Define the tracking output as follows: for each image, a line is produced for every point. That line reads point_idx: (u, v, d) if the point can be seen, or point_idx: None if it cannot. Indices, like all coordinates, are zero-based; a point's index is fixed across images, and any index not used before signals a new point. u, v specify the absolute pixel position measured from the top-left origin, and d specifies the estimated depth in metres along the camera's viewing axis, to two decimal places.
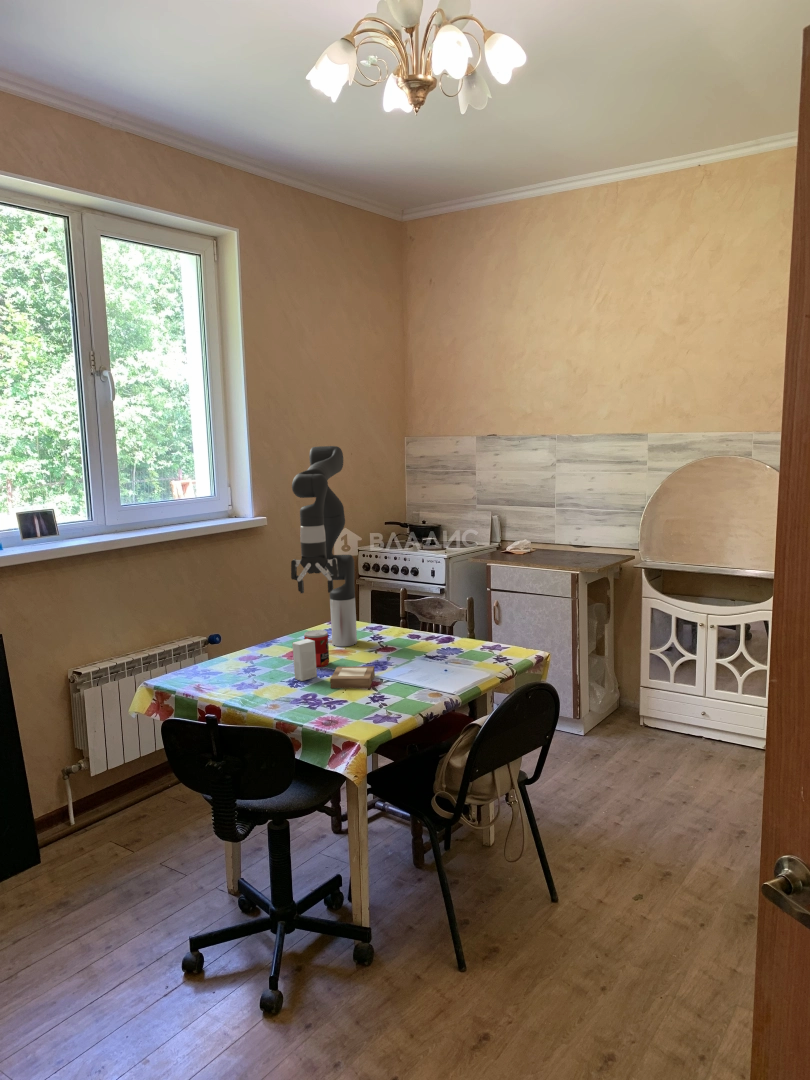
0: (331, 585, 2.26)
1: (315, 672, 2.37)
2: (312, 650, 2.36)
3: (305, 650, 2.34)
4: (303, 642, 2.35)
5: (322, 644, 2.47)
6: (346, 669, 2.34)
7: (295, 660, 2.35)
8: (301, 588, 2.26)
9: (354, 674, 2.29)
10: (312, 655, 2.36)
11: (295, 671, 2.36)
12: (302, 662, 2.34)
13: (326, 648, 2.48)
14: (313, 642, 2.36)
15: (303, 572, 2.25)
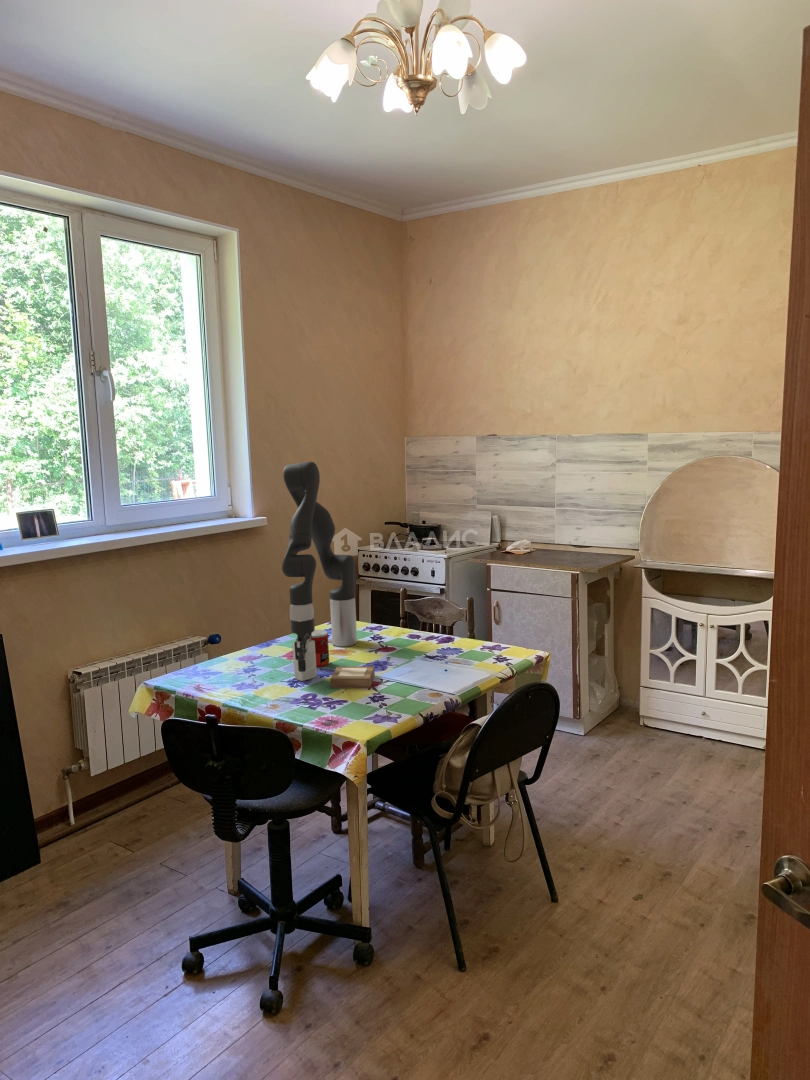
0: None
1: (315, 672, 2.37)
2: (312, 650, 2.36)
3: None
4: None
5: (322, 644, 2.47)
6: (346, 669, 2.34)
7: (295, 660, 2.35)
8: (305, 666, 2.33)
9: (354, 674, 2.29)
10: (312, 655, 2.36)
11: (295, 671, 2.36)
12: None
13: (326, 648, 2.48)
14: (313, 642, 2.36)
15: (307, 649, 2.33)
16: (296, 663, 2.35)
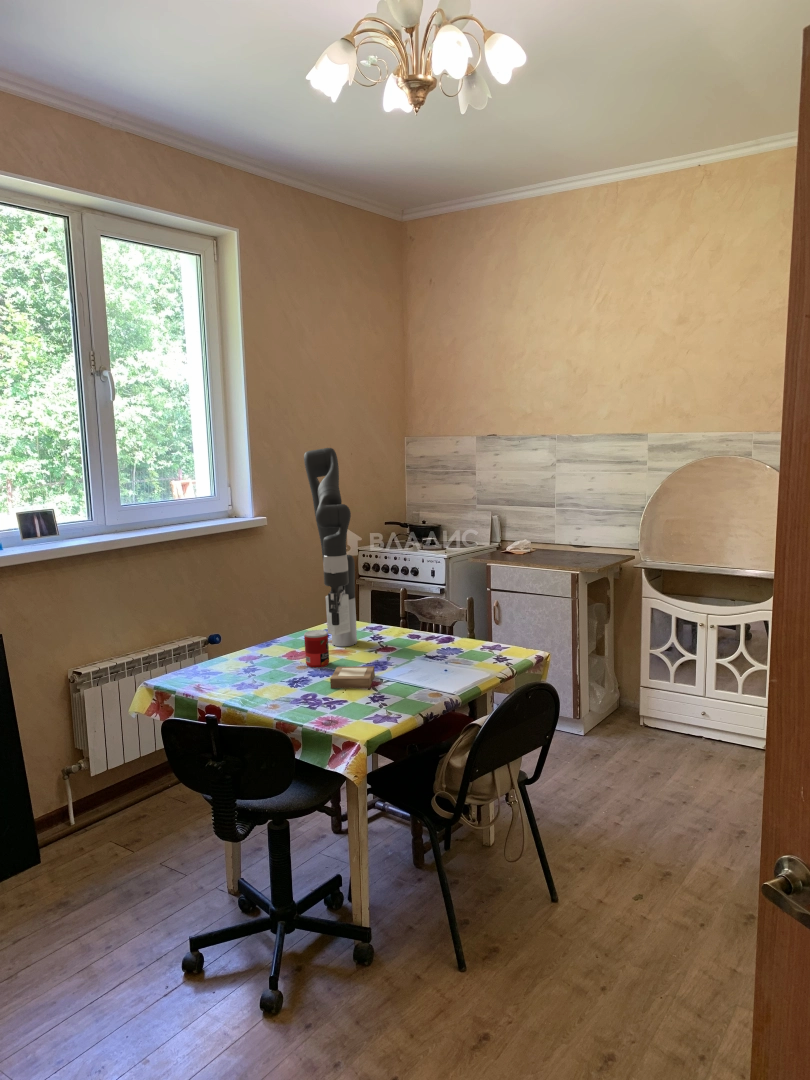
0: None
1: (348, 627, 2.30)
2: (346, 604, 2.29)
3: None
4: None
5: (322, 644, 2.47)
6: (346, 669, 2.34)
7: (328, 614, 2.28)
8: (338, 619, 2.26)
9: (354, 674, 2.29)
10: (346, 609, 2.29)
11: (328, 626, 2.29)
12: None
13: (326, 648, 2.48)
14: (347, 596, 2.29)
15: (340, 602, 2.26)
16: (329, 617, 2.28)
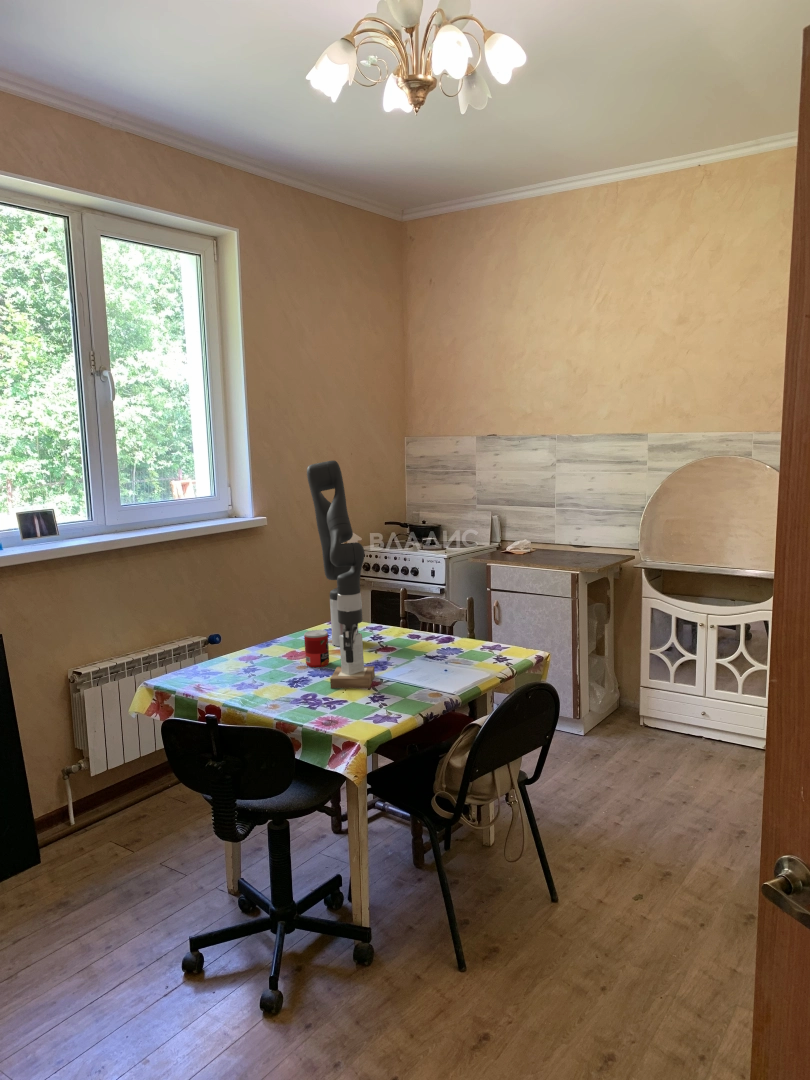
0: None
1: (362, 666, 2.31)
2: (359, 643, 2.30)
3: None
4: None
5: (322, 644, 2.47)
6: None
7: (342, 654, 2.29)
8: None
9: (354, 674, 2.29)
10: (359, 648, 2.30)
11: (342, 665, 2.30)
12: None
13: (326, 648, 2.48)
14: (360, 635, 2.30)
15: (354, 640, 2.27)
16: (343, 657, 2.29)
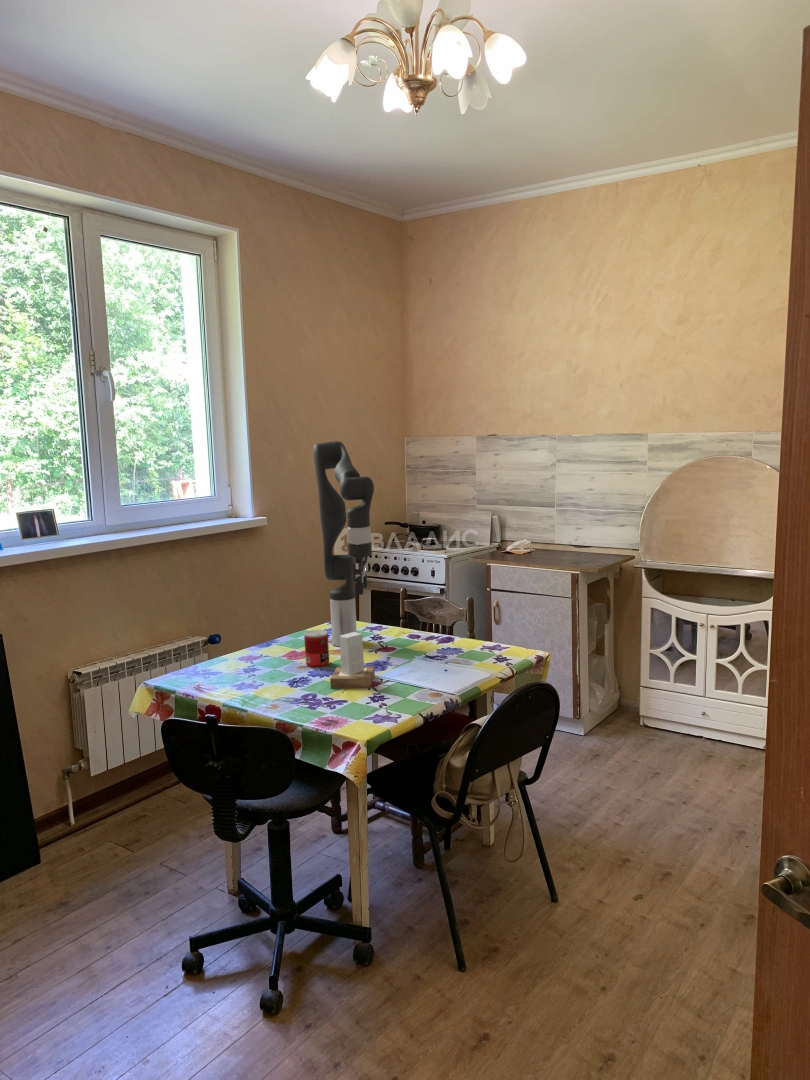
0: None
1: (362, 666, 2.31)
2: (360, 643, 2.30)
3: (353, 643, 2.28)
4: (350, 635, 2.29)
5: (322, 644, 2.47)
6: None
7: (342, 654, 2.29)
8: (362, 589, 2.31)
9: (354, 674, 2.29)
10: (359, 648, 2.30)
11: (342, 665, 2.30)
12: (350, 655, 2.28)
13: (326, 648, 2.48)
14: (361, 635, 2.30)
15: (364, 572, 2.31)
16: (343, 657, 2.29)
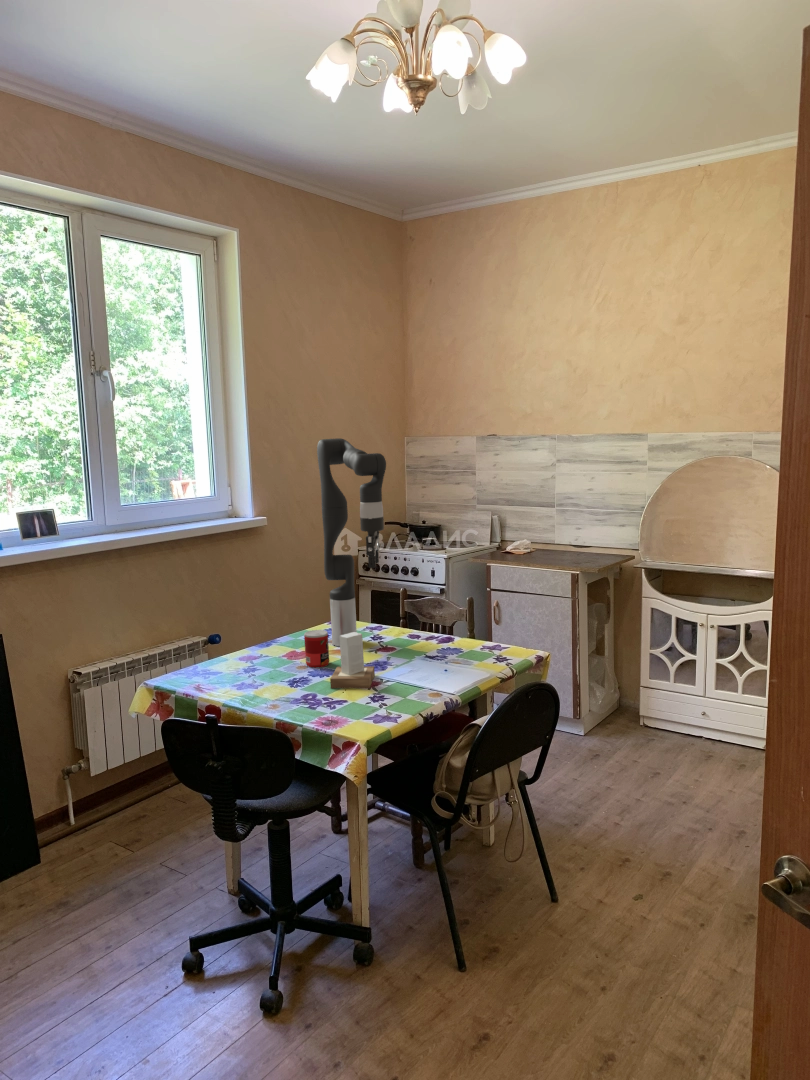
0: None
1: (362, 666, 2.31)
2: (360, 643, 2.30)
3: (353, 643, 2.28)
4: (350, 635, 2.29)
5: (322, 644, 2.47)
6: None
7: (342, 654, 2.29)
8: None
9: (354, 674, 2.29)
10: (359, 648, 2.30)
11: (342, 665, 2.30)
12: (350, 655, 2.28)
13: (326, 648, 2.48)
14: (361, 635, 2.30)
15: (376, 546, 2.37)
16: (343, 657, 2.29)
